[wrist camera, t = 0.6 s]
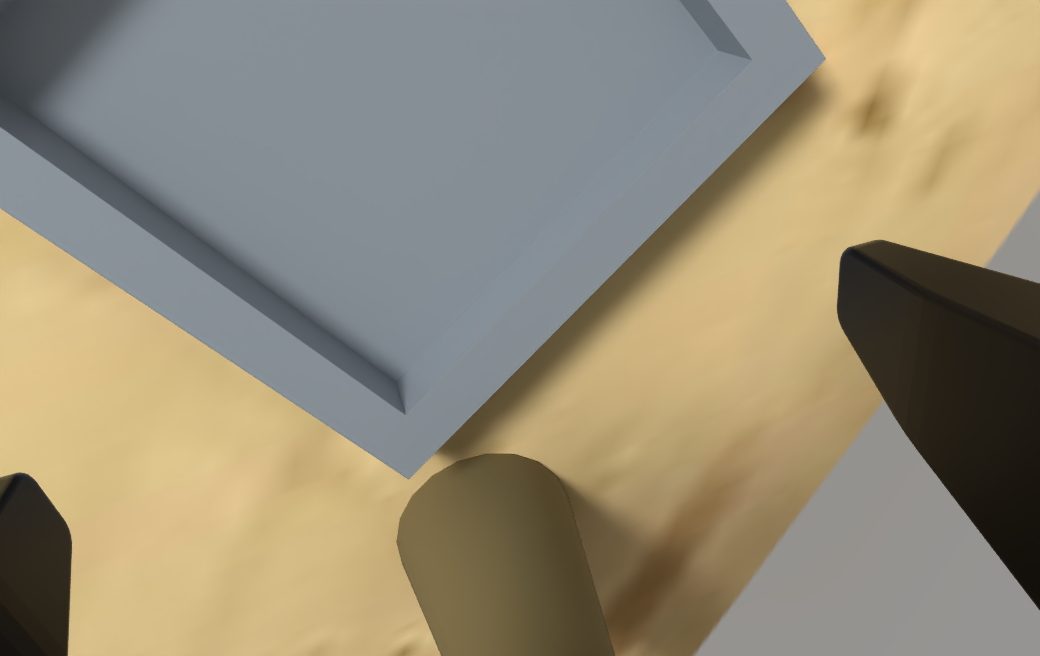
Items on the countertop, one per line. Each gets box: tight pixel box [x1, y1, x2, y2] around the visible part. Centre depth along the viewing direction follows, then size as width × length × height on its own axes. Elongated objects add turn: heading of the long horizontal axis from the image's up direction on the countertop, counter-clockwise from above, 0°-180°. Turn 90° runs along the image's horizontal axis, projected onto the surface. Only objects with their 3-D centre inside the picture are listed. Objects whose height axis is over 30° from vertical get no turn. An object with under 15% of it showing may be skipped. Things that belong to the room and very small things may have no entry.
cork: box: [397, 454, 615, 656], centre depth 24 cm, size 6×6×11 cm
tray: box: [0, 0, 826, 479], centre depth 20 cm, size 16×16×2 cm
